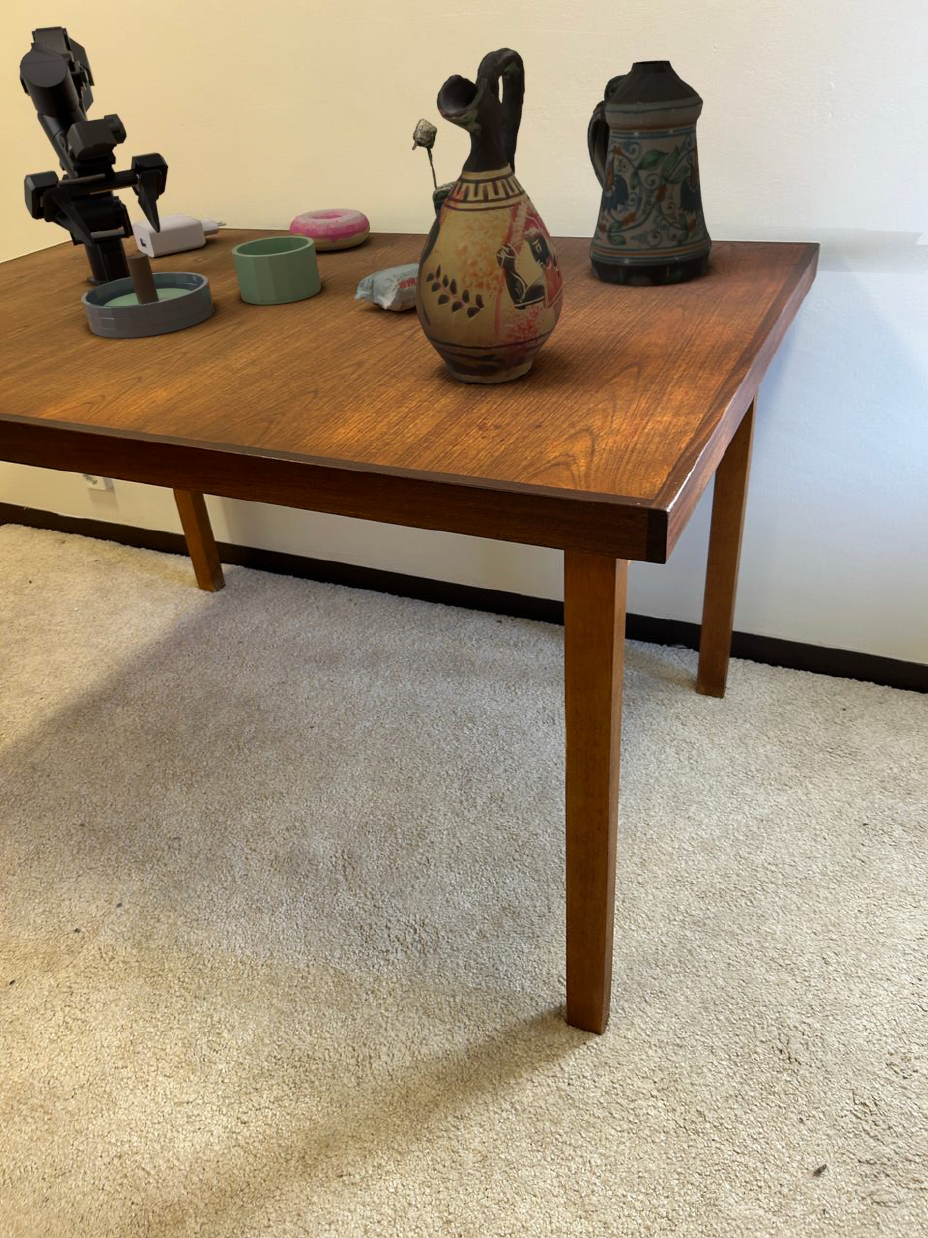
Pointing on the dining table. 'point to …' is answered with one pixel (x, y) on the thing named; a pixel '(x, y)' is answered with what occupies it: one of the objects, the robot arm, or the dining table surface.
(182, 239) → the charger
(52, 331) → the dining table surface
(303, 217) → the donut
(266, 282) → the green cylinder
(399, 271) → the packaged food
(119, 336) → the pan
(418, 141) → the plant with pod
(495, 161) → the ceramic jug
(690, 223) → the beer stein
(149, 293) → the lid
